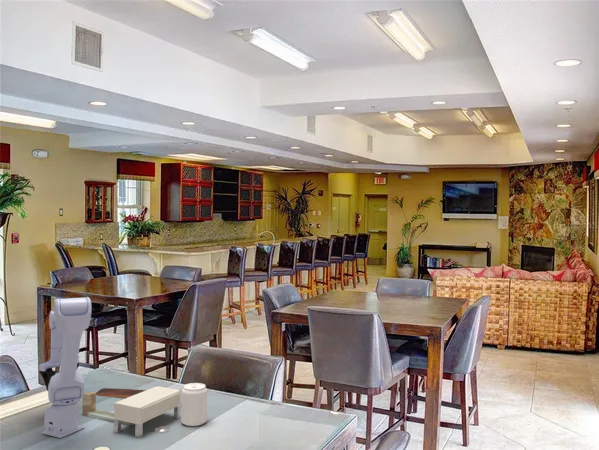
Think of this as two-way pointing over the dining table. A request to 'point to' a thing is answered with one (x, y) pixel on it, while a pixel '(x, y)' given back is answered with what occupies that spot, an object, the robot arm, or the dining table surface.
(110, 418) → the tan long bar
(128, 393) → the wooden tablet
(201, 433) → the dining table surface
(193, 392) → the beverage can
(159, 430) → the steel token
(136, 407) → the cream toy bench
